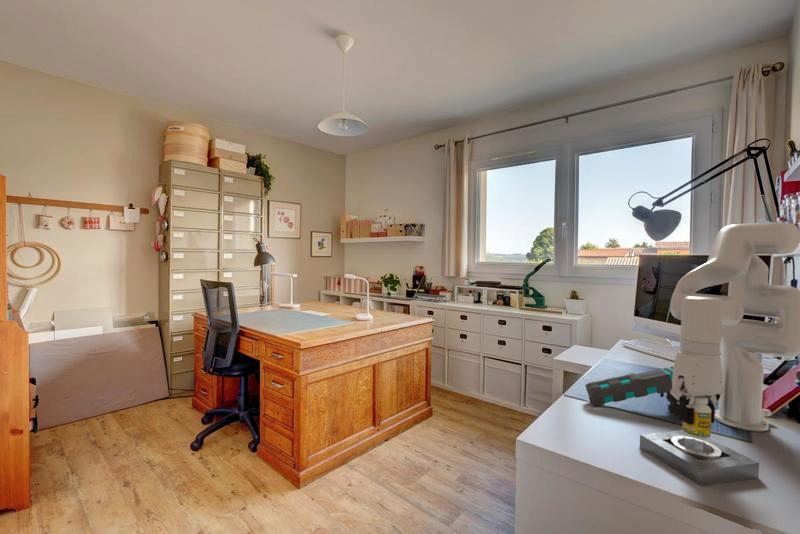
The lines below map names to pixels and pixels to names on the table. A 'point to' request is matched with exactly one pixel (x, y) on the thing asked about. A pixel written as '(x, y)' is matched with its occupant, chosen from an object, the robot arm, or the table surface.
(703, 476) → the bore block
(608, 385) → the gun
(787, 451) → the table surface
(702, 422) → the supplement bottle
